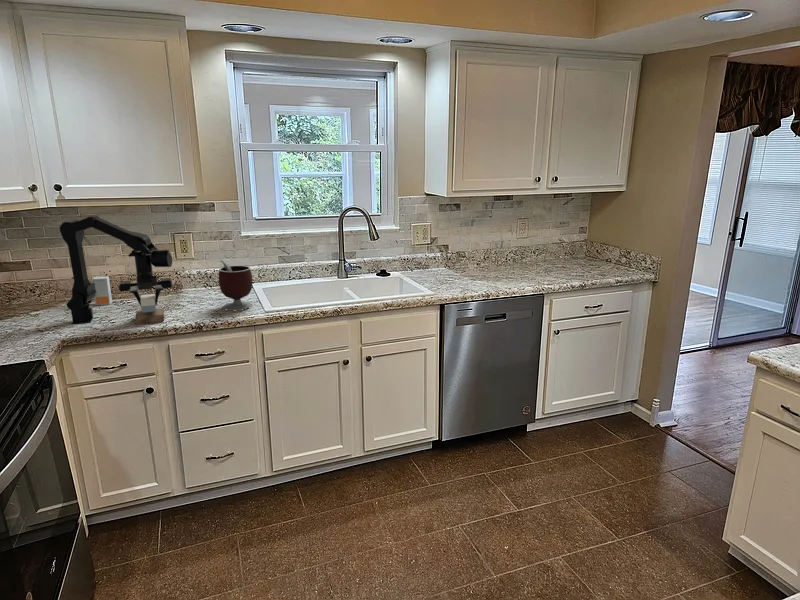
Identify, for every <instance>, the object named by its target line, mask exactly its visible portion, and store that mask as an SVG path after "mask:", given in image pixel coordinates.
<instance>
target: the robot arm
mask: <svg viewBox="0 0 800 600" xmlns="http://www.w3.org/2000/svg"><path fill="white" fill-rule="evenodd" d="M90 228H93V229H94V230H97V231H99V232H101V233H104V234H107V235H109V236H111V237H112V238H115V239H118V240H120V241H121V242H123V243H124V244H125V245H126V246H127V247H129V248H130V249H132V250H131V252H130V253H129V254H128V257H134V264H135V271H136V282H132V281H131V280H128V281H127V280H124V281H120V283H119V284H118V289H119V292H128V293H132V294H133V296H134V297H135V298H136V300H137V302H138V303H139V306H140V307H141V302H140V299H141V293H140V291H143V290H149V291H150V290H152V289H153V287H155V293H154V294H155V304H156V306H157V305H158V300H159V296H160V293H161V291H164V289H168V288H169V289H170V288H172V287H173V280H172V278H171V277H169V278H167V277H165V278H161V279H160V280H158V277H157V275H154V274H153V273H154V271H153V266H154V268H171V267H172V266H173V256H172V254H171V252H170V250H169V249H158V247H156V245H155V244H154V243H153V242H152V240H151V238H150V236H149V235H147V234H144V233H142V232H137V231H131V230H128V229H126V228H122V227H120V226H118V225H116V224H114V223H111V222H109V221H107V220H105V219H103V218H100V217H99V216H98V215H90V216H88V217H85V218H84V219H83V218H82V219H78V220H77V219H73V220H69V221H64V222H63V223H61V224H60V225H59V231H60V235H61V237H62V240H63V241H64V242H65V244H66V245H67V248H68V249H67V250H68V254H69V260H70V266H71V271H72V278H73V285H72V288H71V298H70V299H69V301H68V302H67V303H65V305H66V307H67V309H68V310H70V313H71V318H72V322H71V324H72V325H75V324H83V323H84V324H85V323H91V322H92V321H93V319H94V311H93V308H92V307H91V304H92V301H93V300H94V299H95V298H94V297H95V293H97V292H96V290H95V283H92V282H91V281H90V280H89V277H88V272H87V266H86V260H85V259H86V258H85V254H84V248H83V241H84V237H85V230H87V229H90Z"/></svg>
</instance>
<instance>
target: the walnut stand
mask: <svg viewBox="0 0 800 600" xmlns="http://www.w3.org/2000/svg"><path fill="white" fill-rule="evenodd" d="M134 318H135V325H136V326H138V325H139V324H140V325H147V324H146V323H149V324H155V323H154V322H159V323H164V322H165V309H164V308H162V307H160V308H159V307H158V308H156V311H153V312H142V309H141V310H140V309H139V310H136V313H135V317H134ZM163 321H164V322H163Z"/></svg>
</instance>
